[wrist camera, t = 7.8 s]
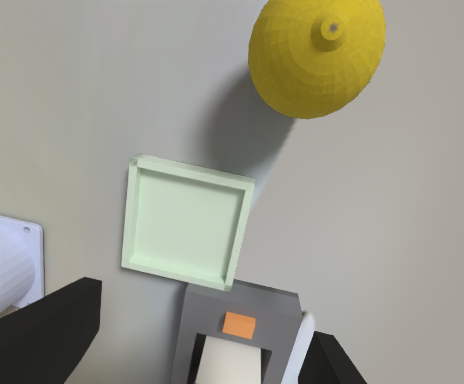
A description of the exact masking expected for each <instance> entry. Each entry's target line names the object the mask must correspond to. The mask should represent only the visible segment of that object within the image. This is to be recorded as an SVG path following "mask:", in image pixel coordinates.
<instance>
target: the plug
mask: <svg viewBox="0 0 464 384" xmlns="http://www.w3.org/2000/svg"><path fill="white" fill-rule="evenodd" d="M194 384H261V348H258V347H254V346H250V345H246V344H242V343H237V342H233V341H229V340H225V339H221V338H217V337H212V336H208V335H207V336H206V340H205V345H204V349H203V353H202V357H201V361H200V365H199V370H198V374H197V378H196V382H195V383H194Z"/></svg>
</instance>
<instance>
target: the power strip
mask: <svg viewBox="0 0 464 384" xmlns="http://www.w3.org/2000/svg"><path fill="white" fill-rule="evenodd" d="M302 319H303V316H302V312H301V307H300V302H299V298H298V294H297V293H292V292H288V291H283V290H279V289H275V288H271V287H266V286H262V285H258V284H253V283H249V282H244V281H240V280H236V279H233V283H232V288H231V292H228V291H223V290H219V289H215V288H210V287H206V286H202V285H198V284H193V283H189V284H188V286H187V289H186V291H185V297H184V303H183V309H182V315H181V321H180V327H179V333H178V339H177V345H176V351H175V356H174V362H173V368H172V374H171V380H170V384H194V383H195V382H196V378H197V374H198V370H199V365H200V361H201V357H202V353H203V349H204V345H205V340H206V336H207V335H208V336H212V337H217V338H221V339H225V340H229V341H233V342H237V343H242V344H246V345H250V346H254V347H258V348H261V384H281V381H282V378H283V375H284V372H285V369H286V366H287V364H288V361H289V358H290V355H291V352H292V349H293V346H294V343H295V340H296V337H297V334H298V331H299V328H300V325H301V322H302Z"/></svg>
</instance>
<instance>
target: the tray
mask: <svg viewBox="0 0 464 384" xmlns="http://www.w3.org/2000/svg"><path fill="white" fill-rule="evenodd" d="M255 180H256V178H251V177H247V176H242V175H237V174H233V173H228V172H223V171H218V170H214V169H209V168H204V167H200V166H195V165H190V164H186V163H181V162H176V161H172V160H167V159H162V158H158V157H153V156H148V155H144V154H139V155H136V156H133V157H130V164H129V176H128V188H127V201H126V213H125V225H124V238H123V250H122V262H121V267H124V268H129V269H133V270H137V271H142V272H146V273H150V274H155V275H159V276H163V277H167V278H172V279H176V280H180V281H185V282H189V283H193V284H198V285H202V286H206V287H210V288H215V289H219V290H223V291H228V292H231V288H232V283H233V279H234V275H235V270H236V266H237V262H238V257H239V253H240V249H241V244H242V240H243V235H244V231H245V227H246V222H247V218H248V214H249V209H250V205H251V201H252V196H253V192H254V187H255Z"/></svg>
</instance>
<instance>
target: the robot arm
mask: <svg viewBox="0 0 464 384" xmlns="http://www.w3.org/2000/svg"><path fill="white" fill-rule="evenodd" d="M28 228H29V229H30V230H29V229H28ZM101 291H102V281H100V280H96V279H92V278H87V277H84V278H81V279H79V280H77V281H75V282H73V283H71V284H69V285H67V286H65V287H63V288H61V289H59V290H57V291H55V292H53V293H51V294H49V295H47V296H45V297H44V266H43V230H42V227H41V226H40V225H38V224H35V223H30V222H26V221H22V220H17V219H13V218H8V217H4V216H0V313H1V312H2V311H3V310H5V309H6V308H7V307H9V306H10V305H12V306H16V307H20V308H21V309H19V310H17V311H15V312H13V313H11V314H9V315H6V316H4V317H2V318H0V384H64V382H65V381H66V380H67V378H68V377H69V376H70V374H71V373H72V371H73V370H74V369H75V367H76V366H77V365H78V363H79V362H80V361H81V359H82V357H83V356H84V354H85V352H86V351H87V349H88V348H89V346H90V344H91V343H92V341H93V339H94V337H95V336H96V334H97V332H98V331H99V325H100V308H101ZM298 384H367V383H366V381H365V380H364V379H363V377H362V376H361V374H360V373H359V371H358V370H357V369H356V367H355V366H354V364H353V363H352V361H351V360H350V359H349V357H348V356H347V354H346V353H345V351H344V350H343V348H342V347H341V346H340V344H339V343H338V341H337V340H336V339H335V337H334V336H333V335H329V334H325V333H321V332H317V331H314V334H313V337H312V340H311V342H310V345H309V348H308V351H307V354H306V356H305V359H304V362H303V365H302V368H301V370H300V373H299V376H298Z"/></svg>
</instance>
